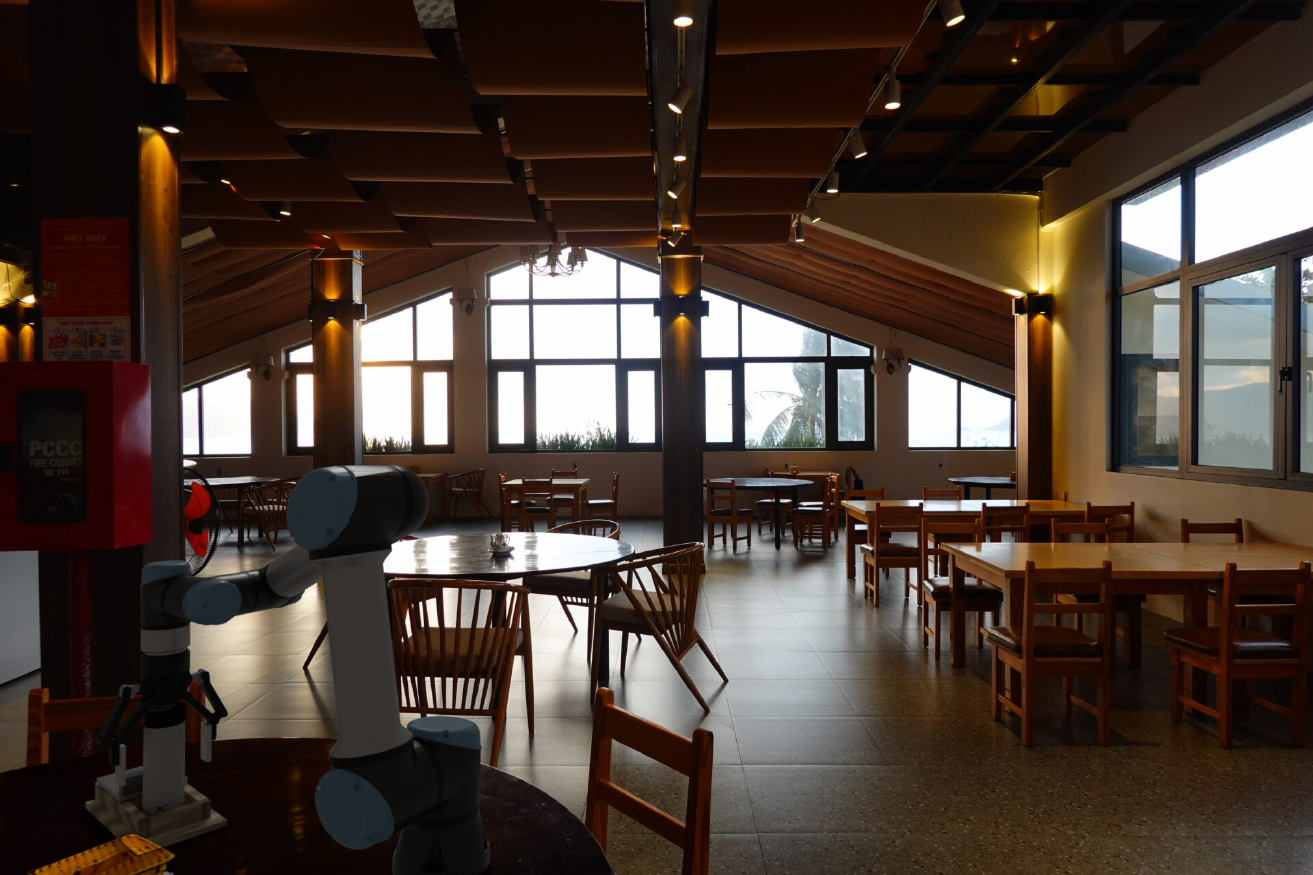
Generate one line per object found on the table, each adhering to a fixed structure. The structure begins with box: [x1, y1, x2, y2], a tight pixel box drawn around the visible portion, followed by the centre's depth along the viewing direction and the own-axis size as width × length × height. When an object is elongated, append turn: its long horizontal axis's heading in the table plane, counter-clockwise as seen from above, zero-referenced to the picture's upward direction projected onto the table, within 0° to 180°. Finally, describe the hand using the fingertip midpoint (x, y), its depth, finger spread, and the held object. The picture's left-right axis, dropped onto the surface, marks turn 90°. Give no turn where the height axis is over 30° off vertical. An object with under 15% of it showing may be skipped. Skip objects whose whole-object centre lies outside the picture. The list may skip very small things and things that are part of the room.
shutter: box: [96, 764, 189, 802], centre depth 150 cm, size 12×11×4 cm
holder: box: [84, 782, 228, 848], centre depth 146 cm, size 26×14×4 cm, turn 50°
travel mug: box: [142, 701, 186, 817], centre depth 144 cm, size 6×7×20 cm
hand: (164, 771), depth 144 cm, fingers open, 13 cm apart
